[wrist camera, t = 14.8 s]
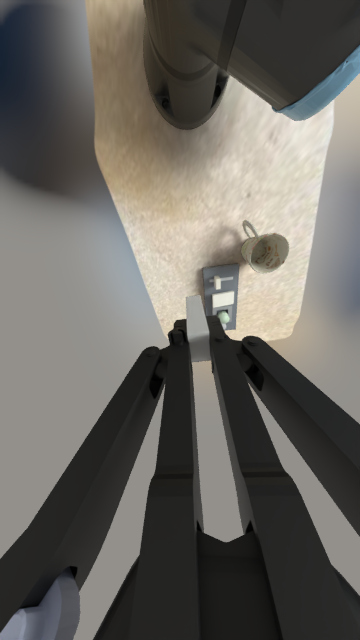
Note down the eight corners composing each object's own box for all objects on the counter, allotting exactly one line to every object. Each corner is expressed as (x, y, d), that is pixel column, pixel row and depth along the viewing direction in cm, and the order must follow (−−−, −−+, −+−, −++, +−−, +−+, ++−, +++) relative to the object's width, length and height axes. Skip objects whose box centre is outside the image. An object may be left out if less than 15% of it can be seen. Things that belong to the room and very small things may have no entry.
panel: (202, 268, 46) (204, 271, 42) (237, 263, 45) (241, 266, 42) (206, 328, 57) (207, 335, 54) (233, 326, 56) (237, 332, 53)
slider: (213, 276, 44) (216, 279, 41) (218, 275, 44) (220, 279, 41) (214, 285, 46) (216, 289, 43) (218, 284, 46) (220, 289, 43)
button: (217, 311, 49) (219, 315, 46) (227, 310, 48) (229, 314, 46) (217, 319, 50) (219, 324, 48) (227, 318, 50) (229, 323, 47)
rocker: (212, 294, 45) (213, 295, 45) (232, 290, 46) (234, 291, 45) (212, 306, 48) (213, 307, 47) (232, 302, 48) (233, 303, 47)
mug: (246, 270, 46) (260, 280, 37) (222, 234, 41) (233, 236, 33) (272, 250, 43) (295, 256, 34) (251, 209, 38) (270, 204, 30)
